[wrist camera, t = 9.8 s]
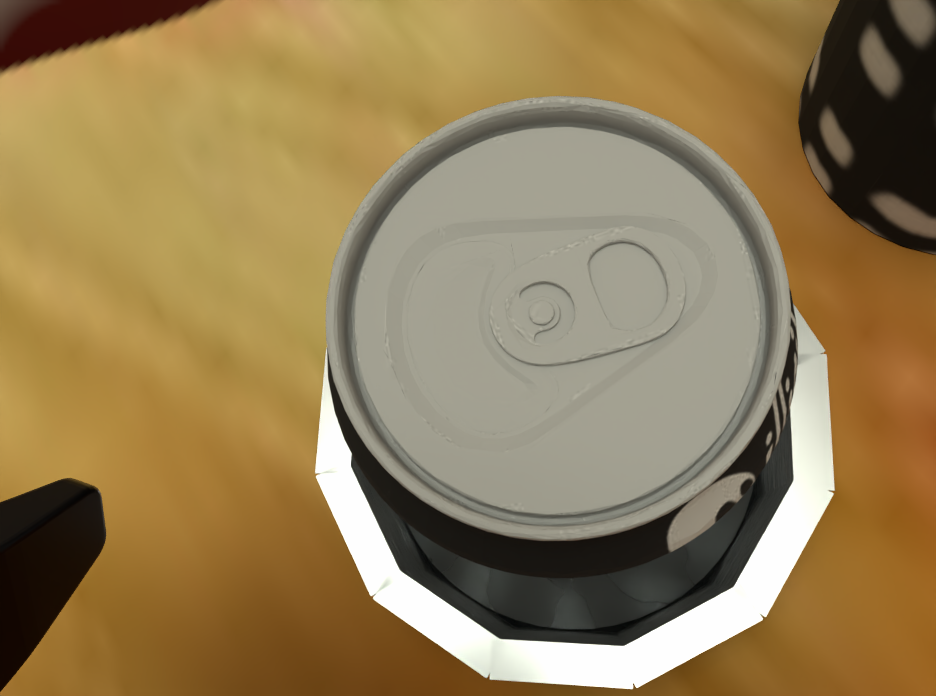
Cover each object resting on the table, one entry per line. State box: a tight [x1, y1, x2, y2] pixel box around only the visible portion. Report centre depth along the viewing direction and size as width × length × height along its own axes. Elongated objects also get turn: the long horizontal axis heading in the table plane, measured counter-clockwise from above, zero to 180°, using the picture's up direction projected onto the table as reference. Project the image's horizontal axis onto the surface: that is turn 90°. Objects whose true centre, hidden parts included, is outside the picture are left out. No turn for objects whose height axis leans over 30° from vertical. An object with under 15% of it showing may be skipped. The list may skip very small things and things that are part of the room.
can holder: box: [315, 304, 834, 689], centre depth 21 cm, size 12×12×5 cm
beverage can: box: [326, 96, 798, 578], centre depth 16 cm, size 7×7×12 cm
